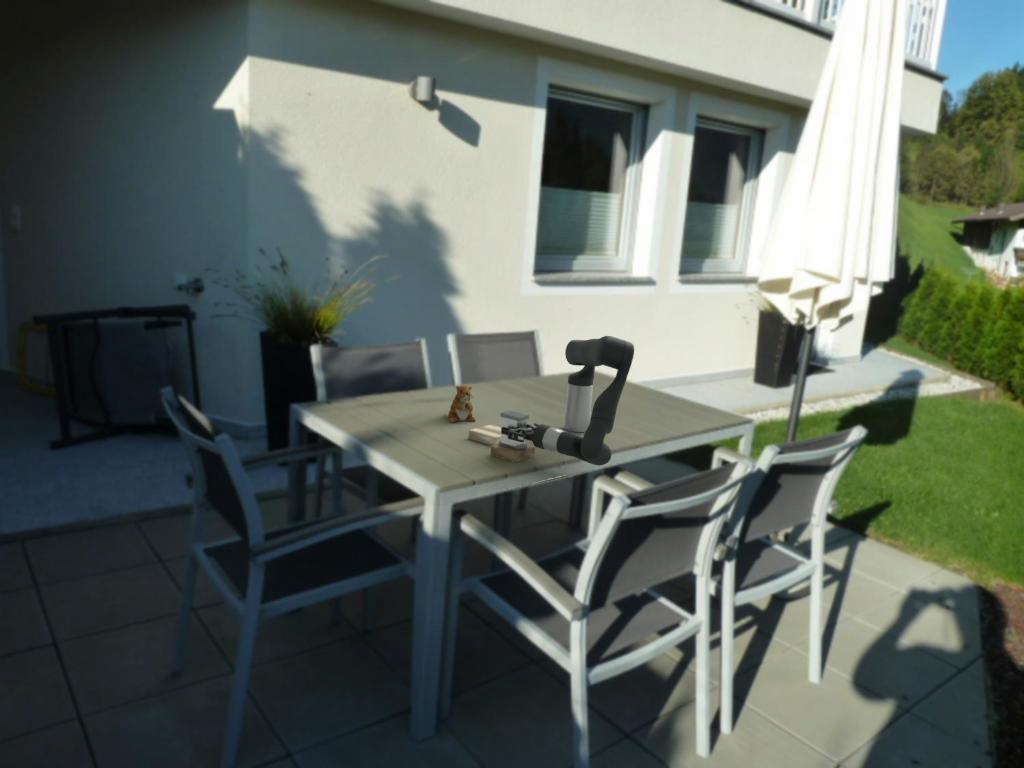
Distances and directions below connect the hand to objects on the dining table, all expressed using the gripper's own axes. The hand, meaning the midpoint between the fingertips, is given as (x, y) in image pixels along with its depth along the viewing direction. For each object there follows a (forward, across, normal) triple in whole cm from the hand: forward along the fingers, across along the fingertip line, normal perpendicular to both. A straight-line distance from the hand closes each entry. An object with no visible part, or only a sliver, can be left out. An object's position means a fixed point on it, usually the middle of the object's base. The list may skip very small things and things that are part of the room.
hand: (510, 427), depth 243 cm
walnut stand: (-2, 0, +9) cm, 9 cm away
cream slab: (+14, -9, +9) cm, 19 cm away
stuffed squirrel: (+40, -21, +9) cm, 46 cm away
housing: (-2, 0, +6) cm, 6 cm away
